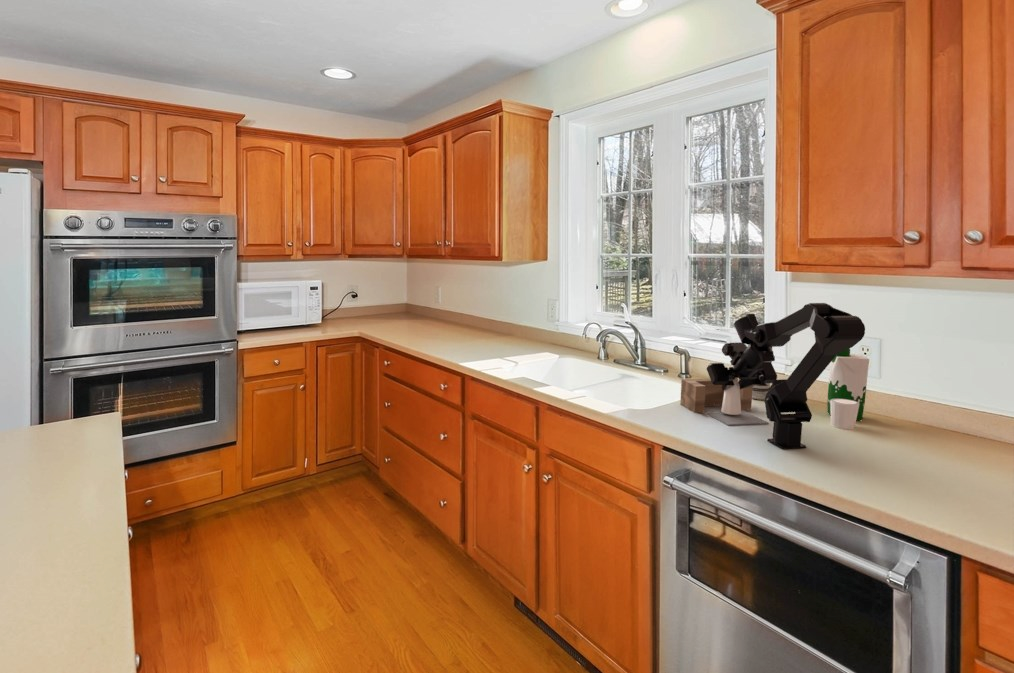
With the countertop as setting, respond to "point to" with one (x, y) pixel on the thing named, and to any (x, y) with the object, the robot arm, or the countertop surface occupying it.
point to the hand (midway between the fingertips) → (729, 389)
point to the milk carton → (848, 379)
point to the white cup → (843, 413)
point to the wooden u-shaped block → (709, 395)
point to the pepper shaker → (732, 400)
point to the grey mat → (737, 418)
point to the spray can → (760, 389)
